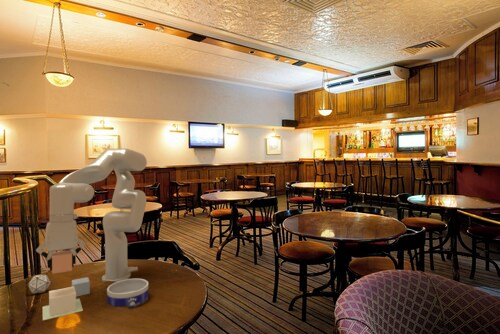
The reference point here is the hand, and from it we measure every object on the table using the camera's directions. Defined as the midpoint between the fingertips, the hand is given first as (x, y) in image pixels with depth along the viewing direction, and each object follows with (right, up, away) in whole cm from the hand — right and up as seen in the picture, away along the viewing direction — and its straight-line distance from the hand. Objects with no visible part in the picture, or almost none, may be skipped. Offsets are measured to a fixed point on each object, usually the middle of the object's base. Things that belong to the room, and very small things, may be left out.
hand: (61, 267), depth 110 cm
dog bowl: (+20, -17, +10) cm, 28 cm away
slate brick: (-1, -16, +14) cm, 22 cm away
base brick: (0, -15, 0) cm, 15 cm away
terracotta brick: (0, -1, 0) cm, 1 cm away
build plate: (0, -16, 0) cm, 16 cm away
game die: (-19, -16, +16) cm, 30 cm away
